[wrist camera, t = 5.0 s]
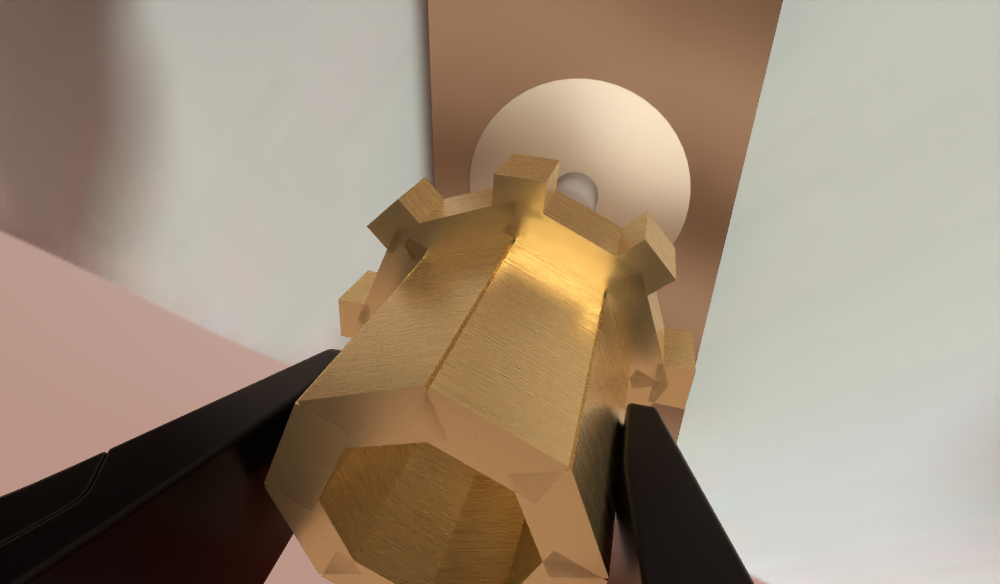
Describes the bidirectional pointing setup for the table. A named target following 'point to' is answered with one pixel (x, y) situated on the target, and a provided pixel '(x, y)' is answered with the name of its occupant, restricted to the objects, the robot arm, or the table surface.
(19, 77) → the table surface
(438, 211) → the brass gear
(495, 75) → the board
